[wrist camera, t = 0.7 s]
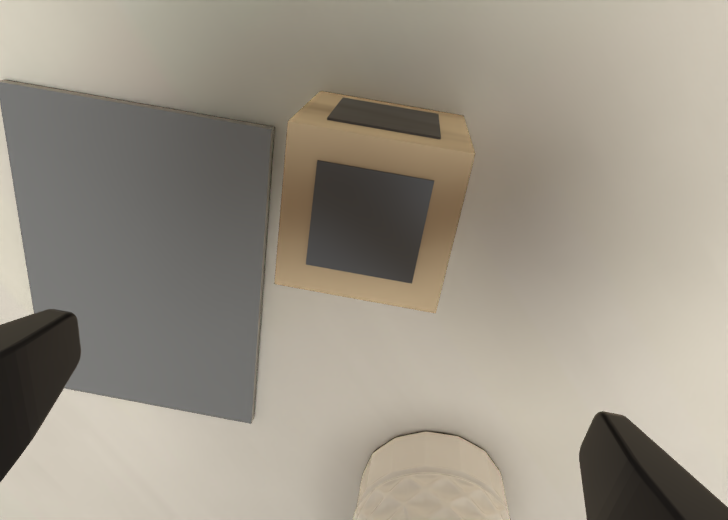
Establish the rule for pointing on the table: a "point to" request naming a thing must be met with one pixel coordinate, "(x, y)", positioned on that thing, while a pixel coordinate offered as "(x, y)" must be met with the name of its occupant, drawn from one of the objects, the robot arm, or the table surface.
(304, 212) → the tan cube block
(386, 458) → the white cup
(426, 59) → the table surface
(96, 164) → the slate pad
